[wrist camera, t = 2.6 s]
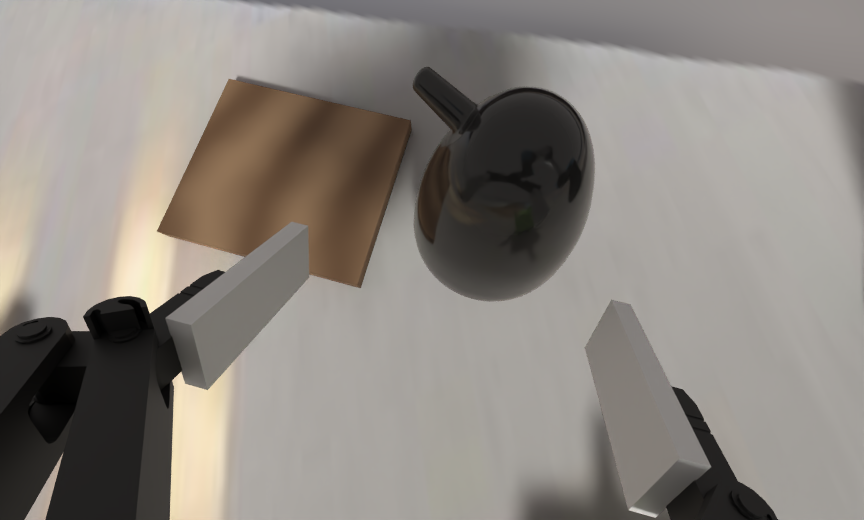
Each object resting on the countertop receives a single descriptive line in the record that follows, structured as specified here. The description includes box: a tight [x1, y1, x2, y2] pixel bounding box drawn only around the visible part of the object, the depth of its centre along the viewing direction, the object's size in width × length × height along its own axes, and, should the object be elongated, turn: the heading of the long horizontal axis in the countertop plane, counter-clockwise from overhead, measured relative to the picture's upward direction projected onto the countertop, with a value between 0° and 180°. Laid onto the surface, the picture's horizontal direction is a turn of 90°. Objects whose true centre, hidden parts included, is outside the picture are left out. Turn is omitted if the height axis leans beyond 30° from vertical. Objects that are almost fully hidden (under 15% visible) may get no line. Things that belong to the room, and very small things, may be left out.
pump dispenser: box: [413, 67, 595, 301], centre depth 20 cm, size 10×10×15 cm
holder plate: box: [157, 79, 412, 288], centre depth 28 cm, size 16×14×1 cm
